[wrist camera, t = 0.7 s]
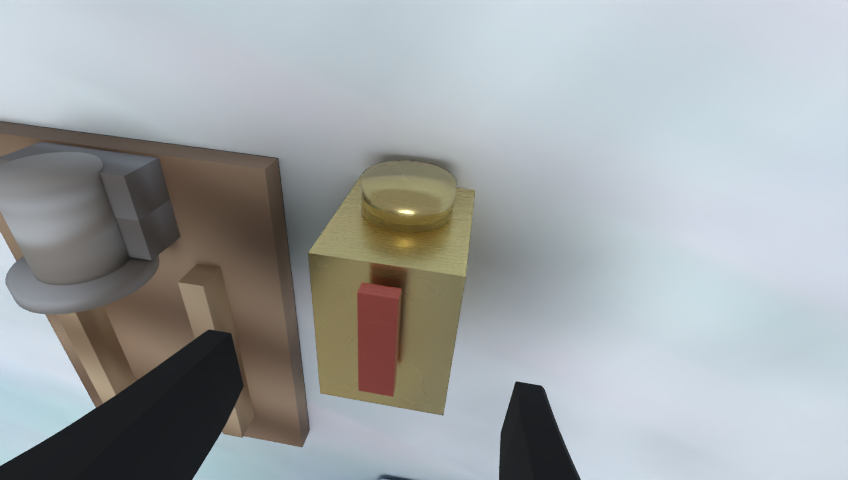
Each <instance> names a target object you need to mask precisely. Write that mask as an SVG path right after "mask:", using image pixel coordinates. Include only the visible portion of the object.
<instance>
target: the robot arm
mask: <svg viewBox="0 0 848 480" xmlns="http://www.w3.org/2000/svg"><path fill="white" fill-rule="evenodd" d="M243 387H244V384H243V380H242V376H241V372H240V368H239V363H238V359H237V355H236V351H235V347H234V342H233V338H232V334H231V333H228V332H222V331H216V330H210V329H209V330H207V331H206V332H204V333H203V334H201V335H200V336H198V337H197V338H196V339H194V340H193V341H191V342H190V343H189V344H187V345H186V346H185V347H183V348H182V349H180V350H179V351H178V352H176V353H175V354H173V355H172V356H171V357H169V358H168V359H166V360H165V361H164V362H162V363H161V364H159V365H158V366H157V367H155V368H154V369H153V370H151V371H150V372H148V373H147V374H145V375H144V376H143V377H141V378H140V379H138V380H137V381H135V382H134V383H133V384H131V385H130V386H128V387H127V388H125V389H124V390H122V391H121V392H120V393H118V394H117V395H115V396H114V397H112V398H111V399H109V400H108V401H106V402H105V403H103V404H101V405H100V406H98V407H97V408H95V409H94V410H92V411H91V412H89V413H88V414H86V415H85V416H83V417H82V418H80V419H78V420H77V421H75V422H74V423H72V424H71V425H69V426H68V427H66V428H64V429H63V430H61V431H60V432H58V433H56V434H55V435H53V436H51V437H50V438H48V439H46V440H45V441H43V442H41V443H40V444H38V445H36V446H34V447H33V448H31V449H29V450H28V451H26V452H24V453H22V454H21V455H19V456H17V457H15V458H14V459H12V460H10V461H8V462H7V463H5V464H3V465H1V466H0V480H192V479H193V477H194V476H195V474H196V473H197V471H198V469H199V468H200V466H201V465H202V463H203V461H204V460H205V458H206V457H207V455H208V453H209V452H210V450H211V448H212V447H213V445H214V443H215V442H216V440H217V438H218V437H219V435H220V434H221V432H222V430H223V428H224V427H225V425H226V423H227V421H228V419H229V417H230V415H231V413H232V411H233V409H234V407H235V404H236V402H237V400H238V398H239V395H240V393H241V391H242V389H243ZM380 480H389V479H380ZM499 480H581V479H580V477H579V475H578V473H577V470H576V468H575V466H574V464H573V462H572V459H571V457H570V455H569V452H568V450H567V448H566V445H565V443H564V440H563V438H562V435H561V433H560V431H559V428H558V425H557V423H556V420H555V418H554V415H553V412H552V410H551V407H550V404H549V401H548V398H547V395H546V392H545V389H544V388H543V387H542V386H540V385H534V384H528V383H522V382H515V386H514V389H513V393H512V396H511V399H510V403H509V406H508V410H507V413H506V416H505V420H504V423H503V427H502V430H501V441H500V466H499Z"/></svg>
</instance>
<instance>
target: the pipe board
mask: <svg viewBox="0 0 848 480" xmlns="http://www.w3.org/2000/svg"><path fill="white" fill-rule="evenodd" d="M0 232H1V234H2V235H3V237H4V239H5V241H6V243H7V245H8V246H9V248H10V250H11V252H12V254H13V256H14V258H15V259H16V261H17V262H16V263H15V264H13V266H12V267H11V268H10V269H9V271H8V273H7V275H6V279H5V280H6V285H7V288H8V289H9V291H10V293H11V294H12V296H13V298H14V300H15V301H16V303H17V304H18V305H19V306H20V307H22V308H23V309H25V310H28V311H30V312H35V313H40V314H45V315H46V317H47V318H48V320H49V322H50V324H51V326H52V328H53V329H54V331H55V333H56V335H57V337H58V339H59V340H60V342H61V344H62V346H63V348H64V350H65V352H66V353H67V355H68V357H69V359H70V361H71V363H72V364H73V366H74V368H75V370H76V372H77V374H78V375H79V377H80V379H81V381H82V383H83V385H84V387H85V388H86V390H87V392H88V394H89V396H90V398H91V399H92V401H93V403H94V405H95V407H96V408H97V407H98V406H100V405H101V404H103V403H105V402H106V401H108V400H109V399H111V398H112V397H114V396H115V395H117V394H118V393H120V392H121V391H122V390H124V389H125V388H127V387H128V386H130V385H131V384H133V383H134V382H135V381H137V380H138V379H140V378H141V377H143V376H144V375H145V374H147V373H148V372H150V371H151V370H153V369H154V368H155V367H157V366H158V365H159V364H161V363H162V362H164V361H165V360H166V359H168V358H169V357H171V356H172V355H173V354H175V353H176V352H178V351H179V350H180V349H182V348H183V347H185V346H186V345H187V344H189V343H190V342H191V341H193V340H194V339H196V338H197V337H198V336H200V335H201V334H203V333H204V332H206V331H207V330H209V329H210V330H216V331H222V332H228V333H231V334H232V338H233V342H234V347H235V351H236V355H237V359H238V363H239V368H240V372H241V376H242V380H243V384H244V387H243V389H242V391H241V393H240V395H239V398H238V400H237V402H236V404H235V407H234V409H233V411H232V413H231V415H230V417H229V419H228V421H227V423H226V425H225V427H224V428H223V430H222V432H223V434H227V435H232V436H237V437H243V436H246V437H252V438H257V439H262V440H267V441H273V442H278V443H283V444H288V445H293V446H299V447H303V445H304V442H305V440H306V438H307V435H308V433H309V422H308V413H307V405H306V396H305V387H304V379H303V370H302V362H301V353H300V344H299V336H298V327H297V319H296V310H295V301H294V293H293V284H292V276H291V267H290V258H289V250H288V241H287V233H286V224H285V215H284V207H283V198H282V190H281V181H280V172H279V164H278V158H272V157H264V156H257V155H249V154H242V153H234V152H227V151H219V150H211V149H204V148H196V147H189V146H181V145H174V144H166V143H158V142H151V141H143V140H136V139H128V138H121V137H113V136H106V135H98V134H90V133H83V132H75V131H68V130H60V129H53V128H45V127H38V126H30V125H22V124H15V123H7V122H0Z"/></svg>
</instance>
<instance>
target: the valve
mask: <svg viewBox="0 0 848 480" xmlns="http://www.w3.org/2000/svg"><path fill="white" fill-rule="evenodd" d="M474 196H475V190H467V189H460V188H456V179H455V178H454V176H453V175H452V174H451V173H449V172H448V171H446V170H445V169H443V168H440V167H438V166H435V165H432V164H428V163H424V162H417V161H388V162H383V163H379V164H376V165H373V166H371V167H369V168H368V169H366V170H365V171H364V172H363V174H362V175H361V176H360V178H359V179H358V181H357V182H356V184H355V185H354V187H353V188H352V190H351V191H350V193H349V194H348V195H347V197H346V198H345V200H344V201H343V203H342V204H341V206H340V207H339V209H338V210H337V212H336V213H335V214H334V216H333V217H332V219H331V220H330V222H329V223H328V225H327V226H326V228H325V229H324V230H323V232H322V233H321V235H320V236H319V238H318V239H317V241H316V242H315V244H314V245H313V247H312V248H311V249H310V251H309V252H308V257H309V268H310V280H311V291H312V303H313V314H314V326H315V337H316V349H317V360H318V372H319V383H320V393H321V394H327V395H332V396H338V397H343V398H349V399H354V400H360V401H366V402H371V403H377V404H382V405H388V406H394V407H399V408H405V409H410V410H416V411H421V412H427V413H433V414H438V415H443V414H444V408H445V402H446V396H447V389H448V383H449V377H450V371H451V365H452V358H453V352H454V346H455V340H456V334H457V328H458V321H459V315H460V309H461V303H462V297H463V291H464V284H465V278H466V270H467V261H468V251H469V242H470V233H471V224H472V215H473V205H474Z"/></svg>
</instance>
